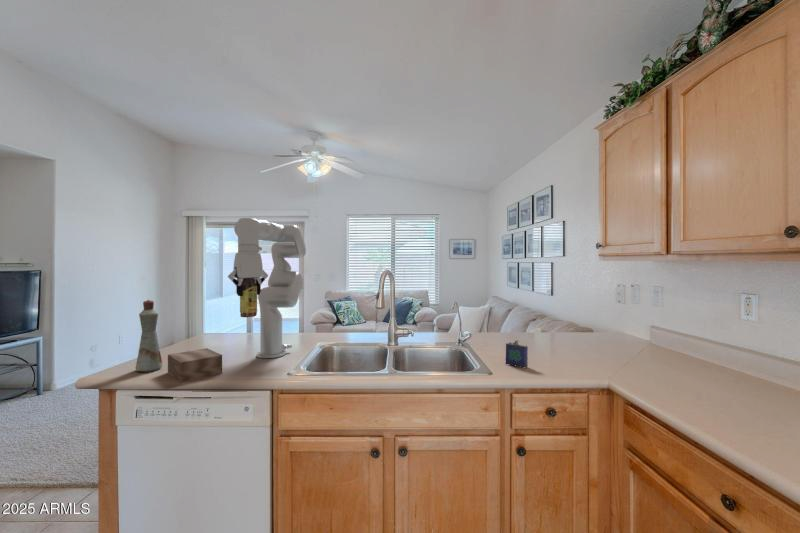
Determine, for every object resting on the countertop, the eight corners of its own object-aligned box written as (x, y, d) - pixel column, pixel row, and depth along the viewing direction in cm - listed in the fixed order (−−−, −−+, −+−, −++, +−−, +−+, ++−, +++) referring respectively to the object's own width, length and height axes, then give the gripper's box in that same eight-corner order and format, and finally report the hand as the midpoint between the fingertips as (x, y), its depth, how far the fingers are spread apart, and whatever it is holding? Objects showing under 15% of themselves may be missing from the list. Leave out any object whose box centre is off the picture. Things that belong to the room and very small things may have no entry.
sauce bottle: (250, 318, 134) (249, 266, 133) (236, 317, 135) (235, 266, 135) (260, 315, 140) (259, 266, 140) (247, 314, 142) (246, 266, 141)
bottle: (128, 372, 135) (128, 300, 135) (148, 366, 144) (148, 298, 144) (148, 373, 134) (148, 301, 134) (167, 366, 143) (167, 298, 143)
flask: (528, 367, 144) (528, 341, 144) (525, 368, 142) (525, 342, 142) (506, 363, 150) (506, 338, 150) (504, 364, 148) (504, 339, 148)
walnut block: (206, 364, 146) (206, 348, 146) (222, 373, 135) (222, 355, 135) (167, 372, 135) (167, 354, 135) (181, 382, 125) (181, 362, 124)
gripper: (264, 250, 146) (265, 293, 147) (221, 249, 133) (222, 296, 134) (273, 250, 141) (274, 294, 142) (229, 249, 128) (230, 297, 129)
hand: (248, 294), depth 138 cm, fingers closed on sauce bottle, 6 cm apart
